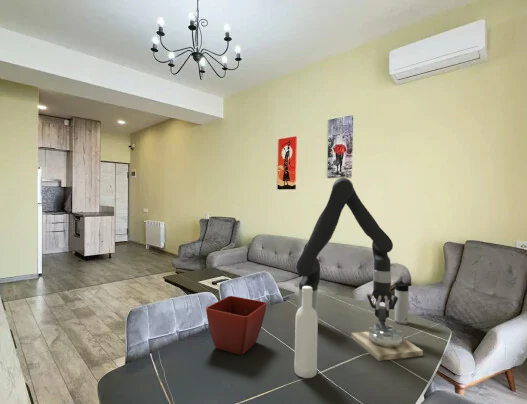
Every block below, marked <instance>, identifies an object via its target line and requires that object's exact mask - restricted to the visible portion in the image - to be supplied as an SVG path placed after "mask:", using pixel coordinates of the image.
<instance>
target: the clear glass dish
mask: <svg viewBox="0 0 527 404" xmlns="http://www.w3.org/2000/svg"><path fill="white" fill-rule="evenodd" d="M378 310H379V318H377V320H378V323H373V324H372V325H373V326H369V327H368V331H369V340H370V341H371V342H372V343H374V344H376V345H378V346H382V347H386V348H398V347H400V346H401V345H402V337H403V332H402V330H401V329H396V330H395V326H394V325H390V324H387V325H386V319H387V318H386V308H385V306H380V305H379V308H378Z"/></svg>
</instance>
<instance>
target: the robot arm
mask: <svg viewBox="0 0 527 404" xmlns="http://www.w3.org/2000/svg"><path fill="white" fill-rule="evenodd" d="M331 188H332V189H331V191H330V195H329V198H328V201H327V203H326V206H325V207H324V209H323V210H322V211H321V214H320V215H319V216H318V219H317V221H316V223H315V225H314V227H313V230H312V233H311V234H310V237H309V239H308V242H307V244H306V246H305V248H304V249H303V251H302V253H301V255H300V257H299V258H298V259H297V262H296V271H297V273H298V274H299V275H300V276H302V278H301V280H300V281H299V283H298V302H297V303H296V312H297V311H298V309H299V308H300V307H301V306H302V287H303V286H310V287H312V290H313V293H312V307H313V309H314V310H315V311H316V313H317V314H318V292H319V291H318V288H319V284H320V279H321V278H320V277H321V263H320V260H319V258H318V256H319V254H320V252H321V251H322V250H323V249H324V248H325V247H326V246H327V244H328V243H329V242H330V241H331V239H332V237H333V235H334V233H335V231H336V228H337V226H338V223H339V221H340V217H341V214H342V212H343V210H344V208H345V206H347V207H348V209H349V210H350V211H351V213H352V215H353V217H354V219H355V220H356V222H357V223H358V225H359V227H360V228H361V230H362V231H363V232H364V234H365V236H367V237H369V238H370V239H371V240H372V244H371V247H372V255H373V261H374V262H373V277H372V279H373V283H372V284H373V285H372V286H373V287H372V288H373V291H372V292H371V293H370V294H369V293H367V294H366V298H367V299H368V302H369V305H370V307H371V309H374V315H375V317H376V318H377V319H378V318H379V310H378V308H379V306H380V304H381V303H384V307H385V308H386V319H388V318H389V317H390V310H395V304H396V302H397V300H398V298H397V297H396V296H395V294H394V295H393V294H392V274H391V273H392V271H391V259H390V257H388V253H390V252H391V251H392V250H393V247H394V244H393V241H392V239H391V238H390V237H389V235H388V234H387V233H386V232H385V231H384V230H383V228H381V227H380V225H379V223H378V222H377V220H376V219H375V218H374V217H373V215H372V214H371V212H370V211H369V210H368V209H367V208H366V206H365V205H364V204H363V202H362V201H361V199H360V197H359V196H358V194H357V192H356V190H355V188H354V184H353V183H352V181H351V180H350V179H349V178H346V177H340V178H337V179H336V180H335V181H334V183H333V184H332V187H331ZM373 298H374V299H375V300H374V301H375V303H374V302H373ZM390 299H391V302H390V304H389V300H390Z"/></svg>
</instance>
